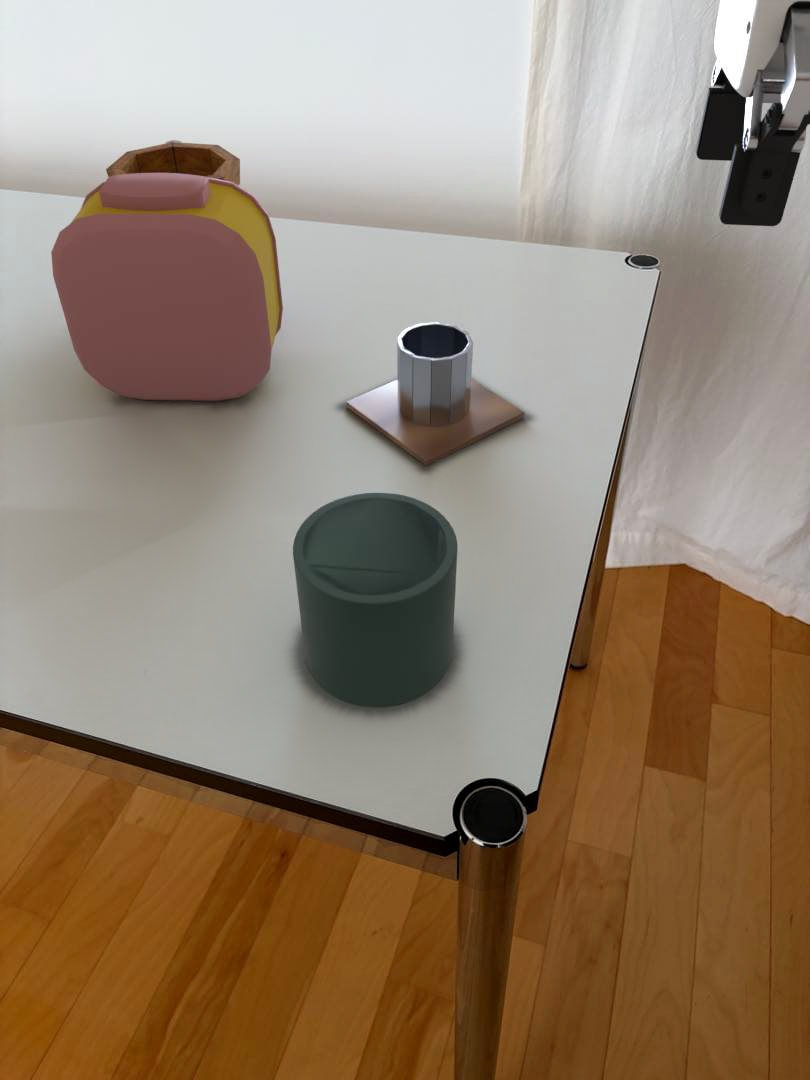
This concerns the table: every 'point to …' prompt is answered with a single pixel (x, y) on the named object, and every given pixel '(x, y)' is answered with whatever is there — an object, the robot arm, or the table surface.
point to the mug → (180, 161)
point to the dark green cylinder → (376, 597)
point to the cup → (434, 373)
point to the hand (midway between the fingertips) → (733, 188)
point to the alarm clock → (170, 287)
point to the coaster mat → (434, 441)
